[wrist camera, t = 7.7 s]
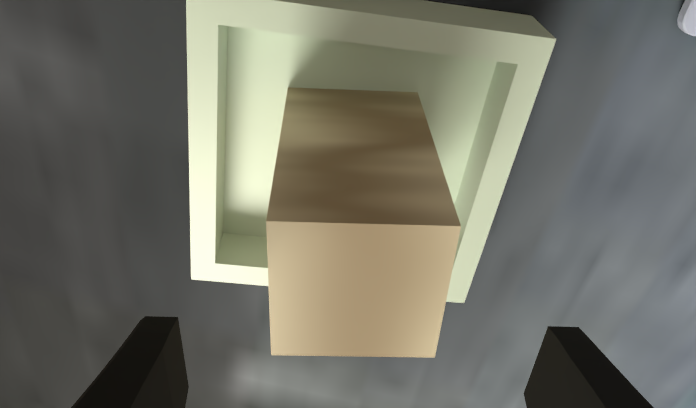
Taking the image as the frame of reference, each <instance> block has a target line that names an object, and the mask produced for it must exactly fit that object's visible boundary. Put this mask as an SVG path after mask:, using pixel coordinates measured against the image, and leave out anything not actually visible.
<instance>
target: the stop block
mask: <svg viewBox="0 0 696 408" xmlns="http://www.w3.org/2000/svg"><path fill="white" fill-rule="evenodd" d="M460 229H461V224H460V221H459V218H458V215H457V212H456V209H455V206H454V203H453V200H452V197H451V194H450V190H449V187H448V184H447V181H446V178H445V175H444V172H443V169H442V166H441V163H440V160H439V157H438V153H437V150H436V147H435V144H434V141H433V138H432V135H431V132H430V129H429V126H428V123H427V119H426V116H425V113H424V110H423V107H422V104H421V101H420V98H419V95H418V92H397V91H371V90H344V89H317V88H290V87H288V90H287V96H286V102H285V108H284V114H283V121H282V127H281V133H280V139H279V145H278V151H277V157H276V164H275V170H274V176H273V182H272V188H271V194H270V200H269V206H268V213H267V219H266V232H267V258H268V284H269V310H270V336H271V355H299V356H370V357H435V354H436V349H437V344H438V339H439V334H440V329H441V324H442V319H443V314H444V309H445V304H446V299H447V294H448V289H449V284H450V279H451V274H452V269H453V264H454V259H455V254H456V249H457V244H458V239H459V234H460Z"/></svg>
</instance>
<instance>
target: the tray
mask: <svg viewBox="0 0 696 408" xmlns="http://www.w3.org/2000/svg"><path fill="white" fill-rule="evenodd" d="M186 20H187V76H188V132H189V188H190V243H191V279H194V280H206V281H217V282H228V283H240V284H251V285H263V286H269V284H268V258H267V232H266V219H267V213H268V206H269V200H270V194H271V188H272V182H273V176H274V170H275V164H276V157H277V151H278V145H279V139H280V133H281V127H282V121H283V114H284V108H285V102H286V96H287V90H288V87H290V88H317V89H344V90H371V91H397V92H418V95H419V98H420V101H421V104H422V107H423V110H424V113H425V116H426V119H427V123H428V126H429V129H430V132H431V135H432V138H433V141H434V144H435V147H436V150H437V153H438V157H439V160H440V163H441V166H442V169H443V172H444V175H445V178H446V181H447V184H448V187H449V190H450V194H451V197H452V200H453V203H454V206H455V209H456V212H457V215H458V218H459V221H460V224H461V229H460V234H459V239H458V244H457V249H456V254H455V259H454V264H453V269H452V274H451V279H450V284H449V289H448V294H447V299H446V302H457V303H464V302H465V299H466V296H467V293H468V290H469V288H470V285H471V282H472V279H473V276H474V273H475V270H476V268H477V265H478V262H479V259H480V256H481V253H482V250H483V248H484V245H485V242H486V239H487V236H488V233H489V230H490V227H491V225H492V222H493V219H494V216H495V213H496V210H497V207H498V205H499V202H500V199H501V196H502V193H503V190H504V187H505V185H506V182H507V179H508V176H509V173H510V170H511V167H512V165H513V162H514V159H515V156H516V153H517V150H518V147H519V144H520V142H521V139H522V136H523V133H524V130H525V127H526V124H527V122H528V119H529V116H530V113H531V110H532V107H533V104H534V102H535V99H536V96H537V93H538V90H539V87H540V84H541V82H542V79H543V76H544V73H545V70H546V67H547V64H548V62H549V59H550V56H551V53H552V50H553V47H554V44H555V41H556V38H555V37H554V36H553V35H551V34H550V33H549V32H548V31H547V30H546V29H545V28H544V27H543V26H542V25H541V24H540V23H539V22H538V21H537V20H536V19H535V18H534V17H533V16H531V15H524V14H517V13H510V12H503V11H496V10H489V9H481V8H474V7H467V6H460V5H453V4H446V3H439V2H432V1H425V0H186Z"/></svg>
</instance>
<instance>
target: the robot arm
mask: <svg viewBox="0 0 696 408" xmlns="http://www.w3.org/2000/svg"><path fill="white" fill-rule="evenodd" d="M677 22H678V27H679V28H680V29H681V30H682V31H683V32H685V33H687V34H689V35H692V36H696V0H685V1H684V4H683V6H682V8H681V10H680V12H679V15H678V19H677ZM187 393H188V380H187V374H186V367H185V361H184V354H183V348H182V341H181V335H180V328H179V322H178V317H150V316H145V317H144V318H143V319H142V320H140V322H139V323H138V324H137V326H136V327H135V328H134V330H133V331H132V332H131V334H130V335H129V336H128V338H127V339H126V340H125V342H124V343H123V344H122V346H121V347H120V348H119V350H118V351H117V352H116V354H115V355H114V356H113V357H112V359H111V360H110V361H109V362H108V364H107V365H106V366H105V368H104V369H103V370H102V371H101V373H100V374H99V375H98V376H97V378H96V379H95V380H94V381H93V382H92V384H91V385H90V386H89V387H88V388H87V390H86V391H85V392H84V393H83V394H82V395H81V397H80V398H79V399H78V400H77V401H76V403H75V404H74V405H73V406H72V407H71V408H185V404H186V399H187ZM524 396H525V401H526V406H527V408H653V407H652V405H651V404H650V403H649V402H648V401H647V400H646V399H645V398H644V397H643V396H642V395H641V394H640V393H639V392H638V391H637V390H636V389H635V388H634V387H633V385H632V384H631V383H630V382H629V381H628V380H627V379H626V378H625V377H624V376H623V375H622V374H621V373H620V371H619V370H618V369H617V368H616V367H615V366H614V365H613V364H612V363H611V362H610V361H609V359H608V358H607V357H606V356H605V355H604V354H603V353H602V352H601V351H600V350H599V349H598V347H597V346H596V345H595V344H594V343H593V342H592V341H591V340H590V339H589V338H588V337H587V336H586V335H585V333H584V332H583V331H582V330H581V329H580V328H579V327H550V326H548V328H547V331H546V334H545V337H544V339H543V342H542V345H541V348H540V350H539V353H538V356H537V359H536V361H535V364H534V367H533V370H532V372H531V375H530V378H529V381H528V383H527V386H526V389H525V392H524Z"/></svg>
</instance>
